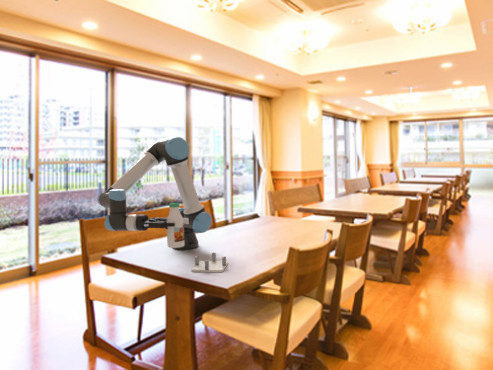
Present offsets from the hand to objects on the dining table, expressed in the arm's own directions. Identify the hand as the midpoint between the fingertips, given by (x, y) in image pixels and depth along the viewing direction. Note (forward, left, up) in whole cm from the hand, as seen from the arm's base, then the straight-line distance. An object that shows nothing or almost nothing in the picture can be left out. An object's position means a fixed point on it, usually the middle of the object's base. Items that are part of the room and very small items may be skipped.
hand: (185, 222), depth 160 cm
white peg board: (-4, +10, -22) cm, 24 cm away
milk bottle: (0, -5, -11) cm, 12 cm away
